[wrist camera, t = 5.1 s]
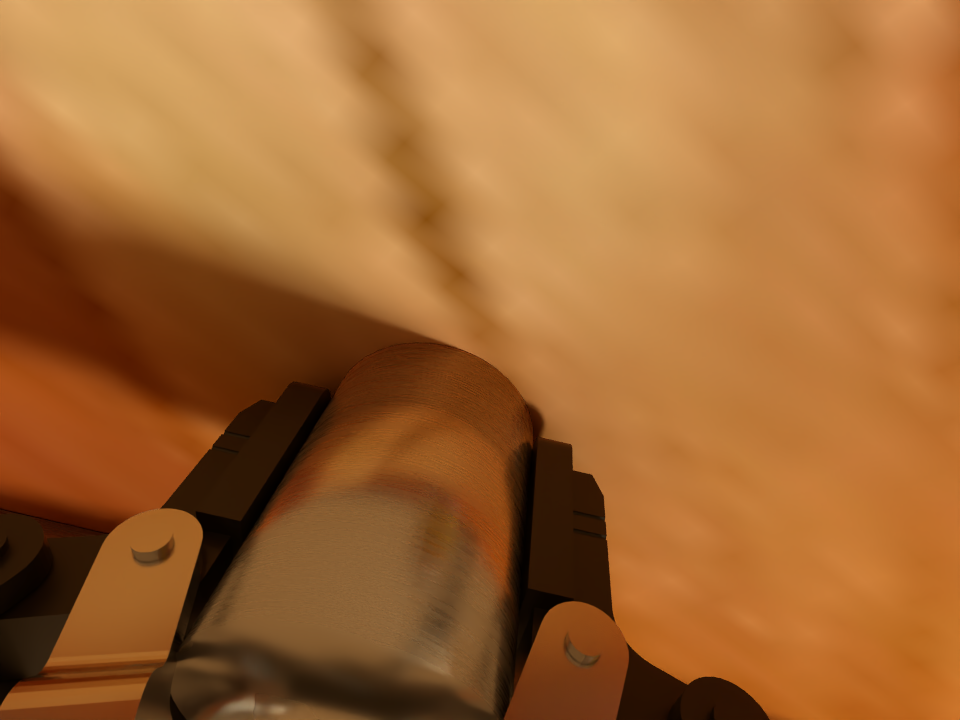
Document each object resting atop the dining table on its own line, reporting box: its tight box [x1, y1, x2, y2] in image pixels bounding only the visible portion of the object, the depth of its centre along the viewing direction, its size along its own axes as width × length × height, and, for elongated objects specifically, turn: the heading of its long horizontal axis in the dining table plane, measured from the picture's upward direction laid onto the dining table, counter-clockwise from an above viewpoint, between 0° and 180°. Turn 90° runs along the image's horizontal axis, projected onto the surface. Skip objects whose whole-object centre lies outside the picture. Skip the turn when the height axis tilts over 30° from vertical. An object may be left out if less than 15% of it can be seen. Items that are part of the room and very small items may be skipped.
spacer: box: [171, 343, 533, 720], centre depth 10 cm, size 4×4×6 cm
